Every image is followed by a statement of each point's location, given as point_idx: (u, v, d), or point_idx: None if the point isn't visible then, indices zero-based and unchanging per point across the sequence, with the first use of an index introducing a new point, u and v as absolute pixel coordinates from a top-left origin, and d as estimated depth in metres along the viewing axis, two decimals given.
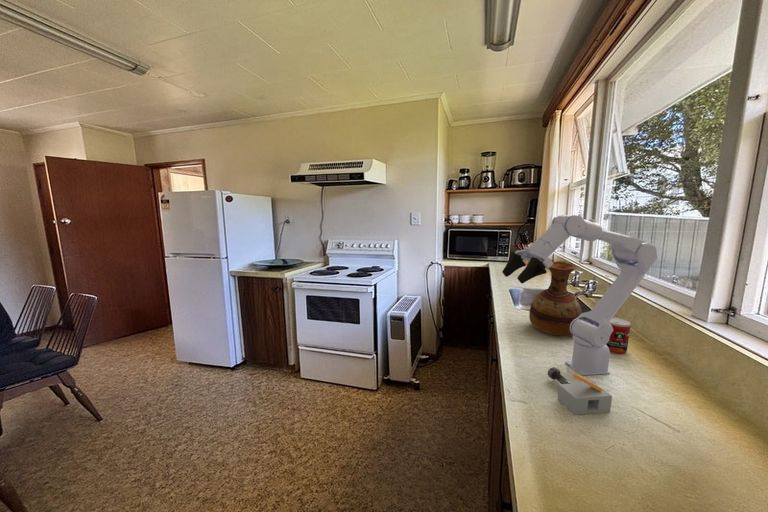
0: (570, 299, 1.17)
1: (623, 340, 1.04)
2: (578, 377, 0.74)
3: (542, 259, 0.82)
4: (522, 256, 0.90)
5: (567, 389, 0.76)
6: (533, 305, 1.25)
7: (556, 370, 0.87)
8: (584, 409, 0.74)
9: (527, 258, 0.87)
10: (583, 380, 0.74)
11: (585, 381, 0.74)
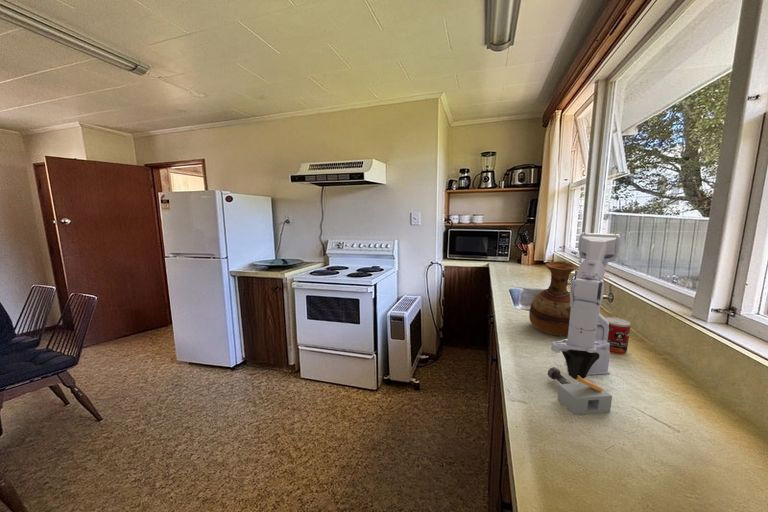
0: None
1: (623, 340, 1.04)
2: (577, 378, 0.74)
3: None
4: (567, 349, 0.73)
5: (567, 389, 0.76)
6: (533, 305, 1.25)
7: (556, 370, 0.87)
8: (584, 409, 0.74)
9: (577, 349, 0.74)
10: (582, 381, 0.74)
11: (584, 382, 0.74)
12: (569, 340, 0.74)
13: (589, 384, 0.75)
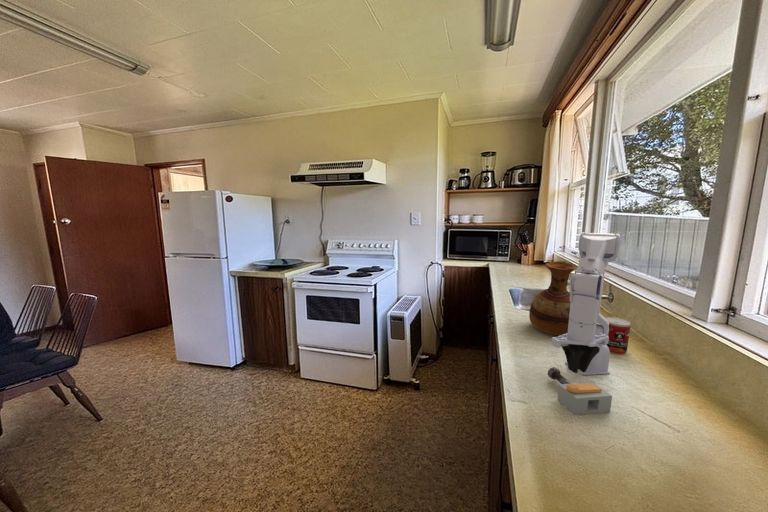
0: None
1: (623, 340, 1.04)
2: (572, 390, 0.75)
3: None
4: (567, 343, 0.74)
5: None
6: (533, 305, 1.25)
7: (556, 370, 0.87)
8: (584, 409, 0.74)
9: None
10: (578, 391, 0.75)
11: (580, 391, 0.75)
12: (569, 335, 0.74)
13: (586, 390, 0.75)
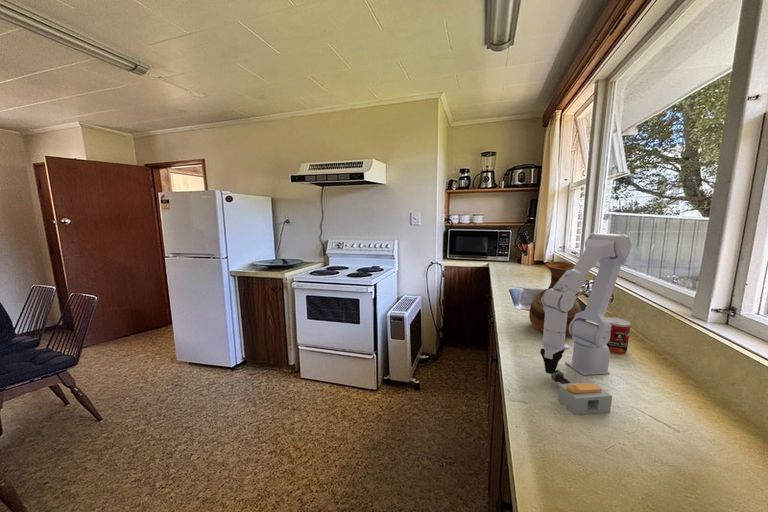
0: None
1: (623, 340, 1.04)
2: (572, 390, 0.75)
3: None
4: None
5: None
6: (533, 305, 1.25)
7: (560, 373, 0.86)
8: (584, 409, 0.74)
9: None
10: (578, 391, 0.75)
11: (580, 391, 0.75)
12: (550, 344, 0.86)
13: (586, 390, 0.75)
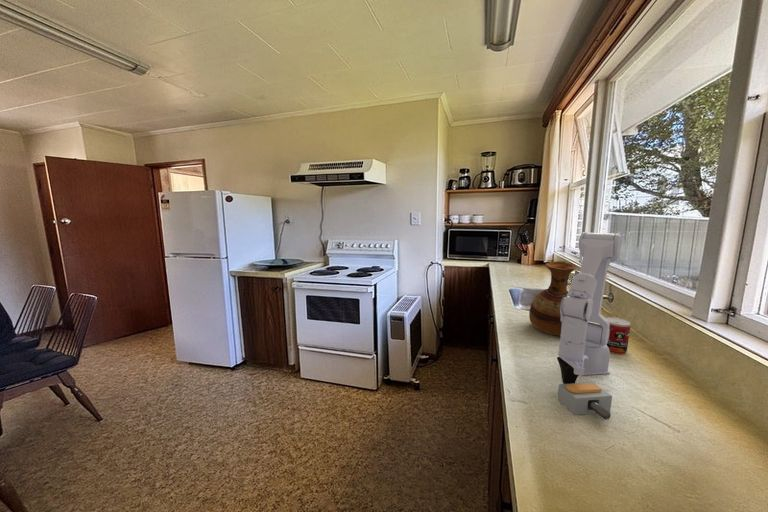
0: None
1: (623, 340, 1.04)
2: (572, 390, 0.75)
3: None
4: None
5: None
6: (533, 305, 1.25)
7: None
8: (584, 409, 0.74)
9: None
10: (578, 391, 0.75)
11: (580, 391, 0.75)
12: (572, 357, 0.78)
13: (586, 390, 0.75)
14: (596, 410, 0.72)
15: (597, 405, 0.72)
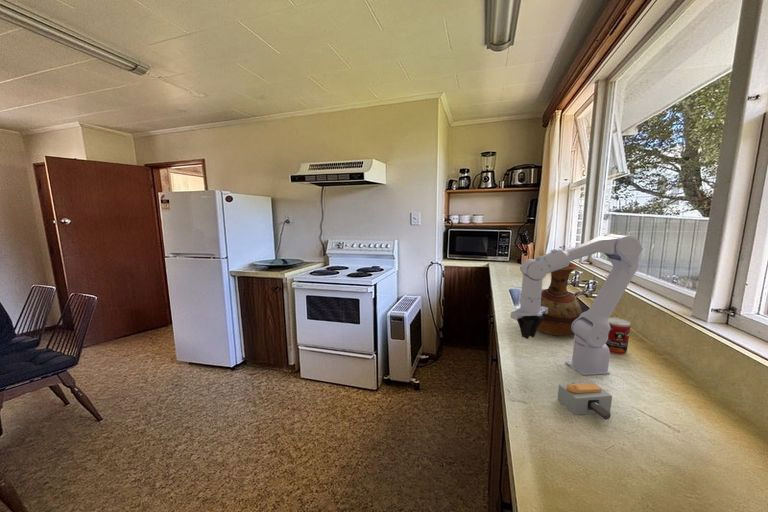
0: (570, 299, 1.17)
1: (623, 340, 1.04)
2: (572, 390, 0.75)
3: None
4: (522, 315, 0.93)
5: None
6: None
7: None
8: (584, 409, 0.74)
9: (528, 315, 0.94)
10: (578, 391, 0.75)
11: (580, 391, 0.75)
12: (522, 309, 0.94)
13: (586, 390, 0.75)
14: (596, 410, 0.72)
15: (597, 405, 0.72)
